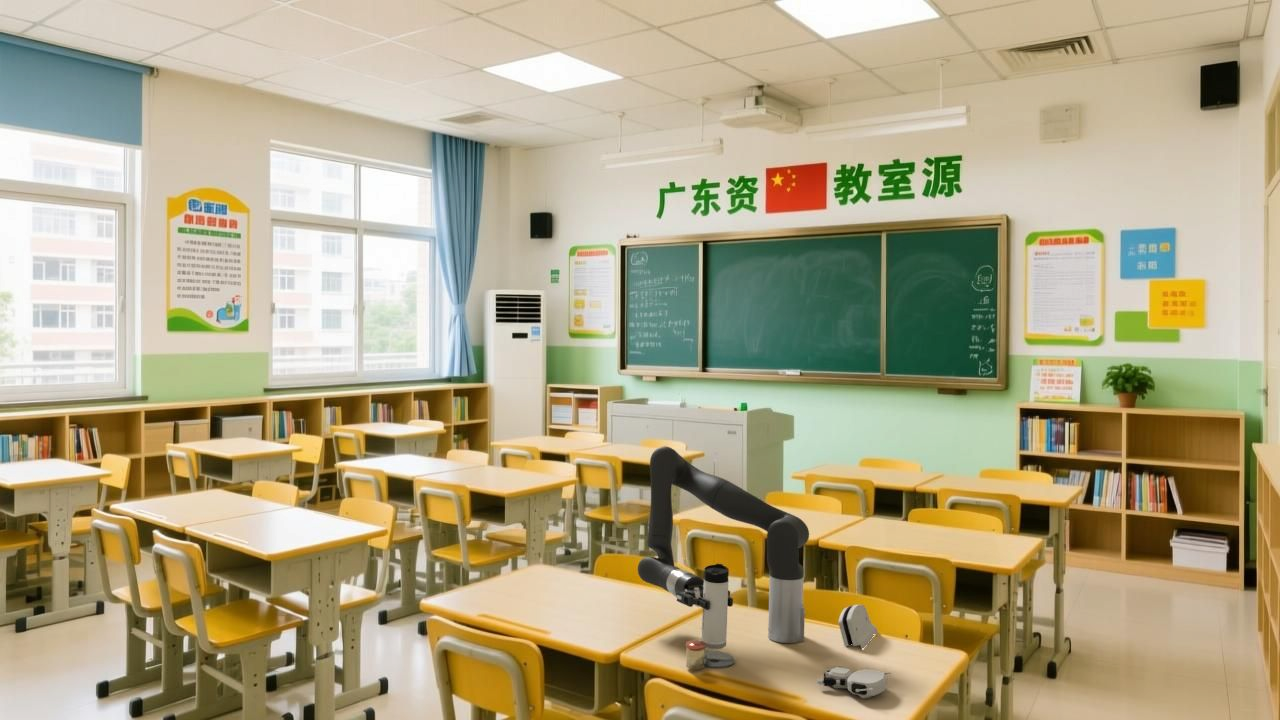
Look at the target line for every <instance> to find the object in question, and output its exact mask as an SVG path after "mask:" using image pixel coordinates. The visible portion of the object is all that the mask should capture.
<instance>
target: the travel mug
mask: <svg viewBox="0 0 1280 720" xmlns="http://www.w3.org/2000/svg"><path fill="white" fill-rule="evenodd" d="M703 571H704V576H703V577H704V578H703V580H704V589H703V598H704V599H706V600H708V601H709V602H710V609H709V610H705V609H704V608H702V624H701V641H703V642H705V643H706V647H705V648H707V649H711V650H712V649H715V650H719V649H723V648H725V647H727V633H728V632H727V630H728V629H727V628H728V607H729V606H728V590H729V574H730V573H729V571H730V570H729V568H728V567H727V566H726V565H724V564H723V563H722V564H721V563H716V564H709V565H707V566H705V567H704V570H703Z"/></svg>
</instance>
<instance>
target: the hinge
mask: <svg viewBox="0 0 1280 720" xmlns="http://www.w3.org/2000/svg"><path fill="white" fill-rule="evenodd" d="M838 626H839V629H840V632H841V633H840V634H841V638H842V641H843V645H844V647H845V646H849V647H851V646H853V647H856V646H860V649H861V648H864V647H865V646H866V645H867V644H868V642H870V640H871V639H872V637H873V636H874V635H873V634H877V635H878V634H879V631H878V628H877V626H876V625H874V624H873V623H872V622H871V619H870V616H869V614H868V611H867V608H866V605H864V604H854V605H850V606H847V607H845V608H843V609H842V611H841V612H840V614H839V618H838ZM870 643H871V642H870ZM851 644H852V645H851ZM868 645H869V644H868Z"/></svg>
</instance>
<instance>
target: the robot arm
mask: <svg viewBox="0 0 1280 720" xmlns="http://www.w3.org/2000/svg"><path fill="white" fill-rule="evenodd" d="M649 472H650V508H649V509H650V510H649V520H648V521H649V522H648V531H647V540H646V545H647V548H649V549H650V550H653V551H654V552H655V553H656V554H657V557H654V556H645V557H643V558H642V559H640V561H639V562H638V565H637V573H638V576H639V578H640V579H641V581H643V582H645V583H647V584H650V585H653V586H656V587H659V588H662V589H663V590H665V591H666V592H668V593H669V594H671V595H673V596H674V598H676V602H678V603H680V604H682V605H685V606H687V607H688V608H689V607H690V608H692V607H693V606H695V607H697V608H699V607H700V608H702V609H703V608H704V609H705V610H709V609H710V602H709V601H708V600H706V599H704V598H703V589H704V578H702V577H700V576H699V575H695V574H694V573H692V572H690V571H688V570H684V569H682V568H679V567H678V566H675V561H674V554H673V547H672V540H673V539H672V538H673V529H674V528H673V527H674V517H673V516H674V515H673V506H672V486H675V487H678V488H680V489H682V490H684V491H686V492H688V493H690V494H692V495H693V496H694V497H695V498H697V500H699V501H700V502H702V503H703V504H705V506H708V507H709V508H710V509H712V510H714V511H716V512H717V513H719V514H721V515H723V516H724V517H727V518H728V519H731V520H734V521H737V522H741V523H745V524H748V525H751V526H754V527H758V528H760V529H762V530H764V531H766V532H767V533H766V563H767V567H768V569H769V570H768V571H769V580H768V581H769V585H768V587H769V588H768V590H769V592H768V626H767V631H768V633H767V637H768V638H769V639H770V640H771V641H773V642H776V643H782V644H796V643H800V642H805V619H806V618H805V617H806V616H805V614H806V613H805V612H806V607H805V605H804V604H803V603H804V567H803V565H802V564H800V560H799V556H800V555H799V554H800V553H799V549H800V548H802V547H804V546H805V545H806V544H807V542H809V538H810V531H809V528H808V525H807V524H806V523H805V521H803V520H802V519H801V518H799V517H798V516H796V515H795V514H791V513H790V512H787V511H784V510H782V509H779V508H777V507H774V506H773V505H770V504H769V503H767V502H765V501H763V500H762V499H760V498H759V497H757V496H755V495H753V494H752V493H750V492H748V491H746V490H745V489H743V488H742V487H739V486H738V485H736V484H735V483H732V482H731V481H729V480H728V479H726V478H725V479H724V478H722V477H720V476H717V475H713V474H710V473H707V472H704V471H703V470H700V469H699V468H698V467H696V466H694V465H693V464H691V463H690V462H688V461H687V460H686V459H685V458H684V457H682V455H680V453H678V452H677V451H676V450H675V449H673V448H672V447H670V446H666V445H665V446H664V445H663V446H660V447H658V448H656V449H655V450H654V451H653V452H652V453H651V455H650V459H649ZM733 605H734V598H732V597H731V590H729V589H728V607H733Z"/></svg>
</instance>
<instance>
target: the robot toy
mask: <svg viewBox="0 0 1280 720" xmlns="http://www.w3.org/2000/svg"><path fill="white" fill-rule="evenodd" d="M887 675H892V672H883V671H880V670H875V669H868V668H867V669H866V668H865V669H859V670H856V671H854V672H853V671H852V670H851V669H849V668H845V667H843V666H838V667H833V668H829V669H827V670H826V671H824V673H823V679H822V678H817V679H816V684H818V685H823V687H832V688H833V687H834V688H833V689H838V688H839V689H847V690H848V692H850V693H852V695H857V696H859V697H860V698H862V699H868V698H871V697H874V696H877V695H879V694H881V693H883V692H884V691H886V689H887V687H888V677H887Z"/></svg>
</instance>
